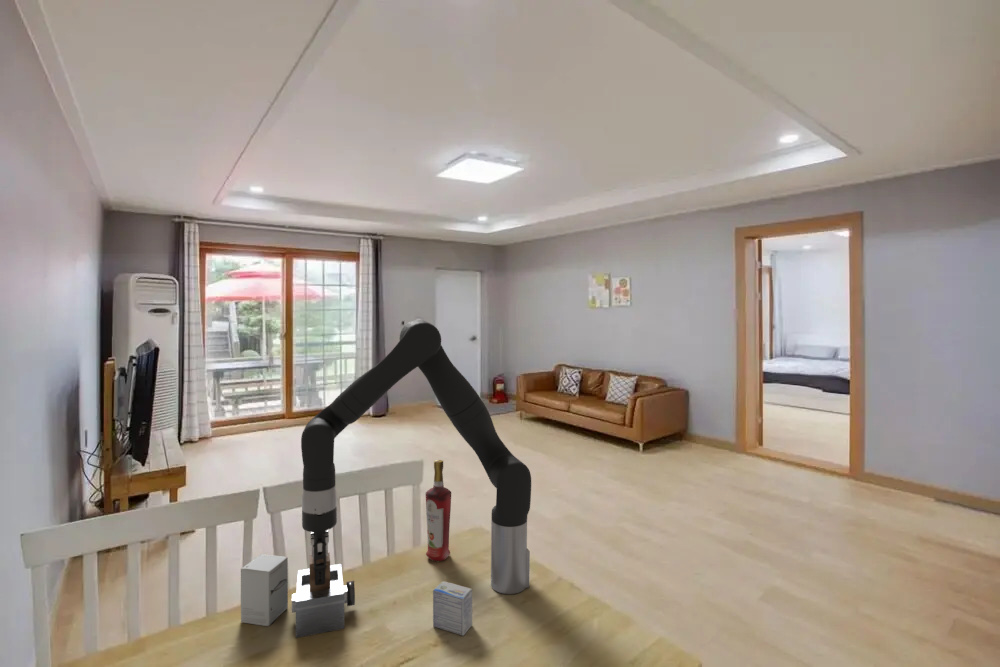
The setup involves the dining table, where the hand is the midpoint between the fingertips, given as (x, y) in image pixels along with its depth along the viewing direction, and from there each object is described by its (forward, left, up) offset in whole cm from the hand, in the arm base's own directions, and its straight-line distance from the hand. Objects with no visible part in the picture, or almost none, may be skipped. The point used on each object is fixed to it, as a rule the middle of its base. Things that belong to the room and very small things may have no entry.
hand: (319, 574), depth 118 cm
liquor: (-32, -18, -10) cm, 38 cm away
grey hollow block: (0, 0, -10) cm, 10 cm away
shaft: (-1, 0, -8) cm, 8 cm away
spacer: (0, 0, -3) cm, 3 cm away
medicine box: (-28, +14, -10) cm, 33 cm away
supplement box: (+12, -4, -10) cm, 16 cm away
